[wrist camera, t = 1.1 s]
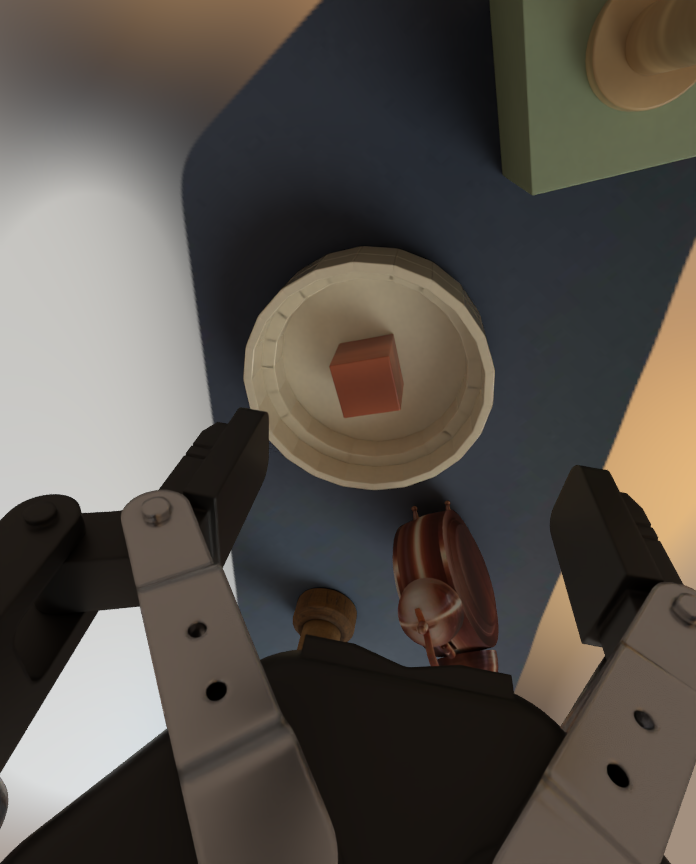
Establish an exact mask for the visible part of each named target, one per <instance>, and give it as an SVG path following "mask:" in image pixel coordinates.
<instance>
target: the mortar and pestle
mask: <svg viewBox="0 0 696 864" xmlns="http://www.w3.org/2000/svg"><path fill="white" fill-rule="evenodd" d="M356 617H357V612H356V608H355V606H354V604H353V603H352V601H351V600H350V599H349V598H347V597H346V596H345V595H343V594H341V593H339V592H337V591H335V590H331V589H325V588H314V589H310V590H307V591H305V592H304V593H303V594H302V595H301V596H300V597H299V599H298V602H297V605H296V609H295V612H294V616H293V625H294V628H295V630H296V631H297V632H298V633H299V634H300V636H301V637H300V640H299V644H298V648H297V650H302V647H303V643H304V639H305V635H306V634H308V635H313V636H318V637H323V638H328V639H333V640H338V641H343V642H348V641H349V640H350V639H351V638H352V636H353V633H354V628H355V623H356Z"/></svg>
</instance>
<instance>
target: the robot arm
mask: <svg viewBox="0 0 696 864" xmlns="http://www.w3.org/2000/svg"><path fill="white" fill-rule="evenodd" d="M268 458H269V414H268V412H265V411H260V410H254V409H248V408H242V407H240V408H239V409H238V410H237V411H236V413H235V414H234V416H233V417H232V419H231V420H230V422H229V423H228V424H226V423H220V422H217V423H215V424H213V425H212V426H210V427H208V428H207V429H205V430H203V431H202V432H201V434H200V435H199V436H198V438H197V439H196V440H195V442H194V443H193V446H191V447H190V448H189V450H188V451H187V452H186V456H183V458H182V459H181V460H180V462H179V463H178V464H177V466H176V467H175V469H174V470H173V471H172V473H171V474H170V475H169V477H168V478H167V479H166V481H165V482H164V483H163V485H162V486H161V487H160V489H159V490H156V491H151V492H147V493H144V494H141V495H139V496H137V497H136V498H134V499H132V500H131V501H130V502H129V503H128V504H127V505H126V506H125V507H124V509H123V510H121V511H112V512H95V513H81V509H80V506H79V504H78V502H77V501H76V500H75V499H73V498H71V497H69V496H65V495H58V494H53V495H52V494H50V495H43V496H39V497H35V498H32V499H29V500H27V501H24V502H22V503H21V504H19V505H17V506H16V507H14V508H13V509H12V510H10V511H9V512H8V513H7V514H6V515H5V516H4V517H3V518H2V519H1V520H0V773H1V771H2V769H3V768H4V766H5V764H6V763H7V761H8V760H9V758H10V756H11V754H12V753H13V751H14V750H15V748H16V746H17V744H18V743H19V741H20V740H21V738H22V736H23V735H24V733H25V731H26V730H27V728H28V726H29V725H30V723H31V721H32V720H33V718H34V717H35V715H36V713H37V711H38V710H39V708H40V707H41V705H42V703H43V702H44V700H45V698H46V696H47V695H48V693H49V692H50V690H51V688H52V687H53V685H54V684H55V682H56V680H57V679H58V677H59V675H60V673H61V672H62V670H63V669H64V667H65V665H66V664H67V662H68V660H69V659H70V657H71V655H72V654H73V652H74V651H75V649H76V647H77V646H78V644H79V642H80V641H81V639H82V637H83V636H84V634H85V632H86V631H87V629H88V627H89V626H90V624H91V622H92V621H93V619H94V617H95V616H96V614H97V612H98V611H99V610H108V609H119V608H128V607H139V606H140V609H141V614H142V618H143V623H144V627H145V631H146V636H147V640H148V645H149V649H150V654H151V658H152V663H153V667H154V672H155V676H156V680H157V685H158V690H159V694H160V698H161V704H162V708H163V713H164V717H165V721H166V726H167V729H166V730H164V731H163V732H162V733H161V734H159V735H158V736H157V737H155V738H154V739H153V740H152V741H151V742H149V743H148V744H147V745H145V746H144V747H143V748H141V749H140V750H139V751H137V752H136V753H135V754H134V755H132V756H131V757H130V758H129V759H127V760H126V761H125V762H123V764H121V765H120V766H118V767H117V768H116V769H114V770H113V771H112V772H111V773H110V774H108V775H107V776H106V777H104V778H103V779H102V780H100V781H99V782H98V783H96V784H95V785H94V786H93V787H91V788H90V789H89V790H88V791H86V792H85V793H84V794H82V795H81V796H80V797H79V798H77V799H76V800H75V801H74V802H72V803H71V804H70V805H69V806H67V807H66V808H64V809H63V810H62V811H61V812H59V813H58V814H57V815H55V816H54V817H53V818H52V819H50V820H49V821H48V822H46V823H45V824H44V825H43V826H41V827H40V828H39V829H37V830H36V831H35V832H34V833H33V834H31V835H30V836H29V837H27V838H26V839H25V840H23V841H22V842H21V843H20V844H19V845H18V846H17V847H16V848H15V849H14V850H13V851H12V852H11V853H10V854H9V855H8V856H7V857H6V858H5V859H4V860H3V861H2V862H1V863H0V864H671V863H670V862H669V861H668V860H667V858H666V857H665V856H664V852H665V849H666V846H667V843H668V840H669V837H670V835H671V832H672V829H673V826H674V823H675V820H676V818H677V815H678V811H679V809H680V806H681V803H682V800H683V797H684V794H685V792H686V789H687V786H688V783H689V780H690V778H691V775H692V772H693V769H694V766H695V763H696V590H694V589H692V588H690V587H687V586H685V585H683V583H682V581H681V579H680V577H679V576H678V574H677V572H676V570H675V568H674V566H673V564H672V562H671V561H670V559H669V557H668V555H667V553H666V551H665V549H664V548H663V546H662V544H661V542H660V541H658V537H657V535H656V533H655V531H654V529H653V528H651V523H650V522H649V520H648V518H647V516H646V514H645V512H644V511H643V509H642V508H641V507H640V506H639V505H638V504H637V503H636V502H635V501H634V500H633V499H632V498H631V497H630V496H629V495H628V494H627V493H622V492H619V490H618V488H617V486H616V483H615V482H614V479H613V477H612V475H611V474H610V472H609V471H608V470H603V469H597V468H592V467H586V466H580V465H576V466H574V467H573V468H572V469H571V471H570V473H569V475H568V477H567V479H566V481H565V484H564V486H563V488H562V490H561V492H560V495H559V497H558V499H557V501H556V503H555V505H554V508H553V510H552V513H551V518H550V532H551V536H552V540H553V543H554V547H555V550H556V554H557V558H558V561H559V565H560V568H561V572H562V575H563V579H564V582H565V585H566V589H567V592H568V596H569V600H570V603H571V606H572V610H573V613H574V617H575V621H576V624H577V628H578V631H579V635H580V639H581V642H582V644H588V645H593V646H598V647H602V648H603V651H604V654H605V657H604V658H603V660H602V661H601V663H600V664H599V665H598V667H597V669H596V670H595V672H594V674H593V675H592V677H591V678H590V680H589V682H588V683H587V685H586V686H585V688H584V690H583V692H582V693H581V695H580V696H579V698H578V699H577V701H576V703H575V704H574V706H573V707H572V709H571V711H570V712H569V714H568V716H567V717H566V719H565V720H564V722H563V723H562V725H561V726H559V725H558V724H557V723H556V722H555V721H554V720H553V719H551V718H550V717H549V716H548V715H547V714H546V713H545V712H543V711H542V710H540V709H539V708H538V707H536V706H535V705H533V704H532V703H530V702H529V701H527V700H525V699H524V698H522V697H520V696H518V695H516V694H514V691H513V684H512V676H511V675H508V674H503V673H498V672H493V671H488V670H483V669H478V668H473V667H468V666H463V665H446V666H427V667H405V666H402V665H400V664H397V663H395V662H393V661H391V660H389V659H387V658H385V657H382V656H380V655H378V654H376V653H374V652H372V651H369V650H367V649H365V648H363V647H361V646H359V645H356V644H353V643H348V642H343V641H338V640H333V639H328V638H323V637H318V636H313V635H308V634H306V635H305V639H304V643H303V647H302V650H292V651H286V652H281V653H277V654H274V655H271V656H268V657H265V658H263V659H261V660H260V659H259V656H258V654H257V651H256V649H255V647H254V644H253V642H252V639H251V637H250V634H249V632H248V629H247V627H246V624H245V622H244V619H243V617H242V615H241V612H240V610H239V607H238V605H237V602H236V600H235V597H234V595H233V592H232V590H231V587H230V585H229V582H228V580H227V578H226V575H225V573H224V570H223V566H224V564H225V562H226V560H227V558H228V556H229V553H230V551H231V549H232V547H233V545H234V543H235V541H236V539H237V536H238V534H239V532H240V530H241V528H242V526H243V524H244V522H245V519H246V517H247V515H248V513H249V511H250V509H251V507H252V505H253V502H254V500H255V498H256V496H257V494H258V492H259V490H260V488H261V485H262V483H263V481H264V479H265V476H266V472H267V467H268ZM7 808H8V792H7V789H6V786H5V784H4V783H3V781H2V779H1V778H0V828H1V826H2V824H3V821H4V819H5V816H6V812H7Z"/></svg>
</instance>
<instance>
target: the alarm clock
mask: <svg viewBox="0 0 696 864" xmlns="http://www.w3.org/2000/svg"><path fill="white" fill-rule="evenodd" d="M445 505H446V510H445V511H441V512H436V513H431V514H427V515H424V516H421V517H419V516H418V513H417V507H416V506H413V507H412V511H413V521H410V522H408V523H406V524H404V525H402V526H400V527H399V528H398V530H397V532H396V534H395V538H394V544H393V570H394V577H395V583H396V587H397V592H398V595H399V599H400V600H399V605H398V617H399V622H400V625H401V627H402V629H403V631H404V632H405V634H406V635H407V636H408V637H409V638H410V639H412V640H413V641H414V642H416V643H417V644H420V645H422V646H423V647H424V648H425V649H426V651H427V656H428V659H429V663H430V665H431V666H446V665H463V666H468V667H473V668H478V669H483V670H488V671H493V672H498V658H497V653H496V651H495V650H484V649H487V648H491V647H494V646H495V645H496V643H497V640H498V617H497V610H496V602H495V597H494V592H493V587H492V584H491V580H490V576H489V573H488V570H487V567H486V565H485V562H484V559H483V557H482V555H481V552H480V550H479V548H478V546H477V544H476V542H475V540H474V538H473V537H472V535H471V533H470V531H469V529H468V528H467V526H466V524H465V523H464V521H463V520H462V519H461V517H460V516H459V515H458V514H457V513H456V512H454V511H453V510H451V509H450V506H449V505H450V502H449V501H445ZM481 650H483V651H481ZM435 656H436V657H443V658H440V659H438V660H437V659H436V657H435Z"/></svg>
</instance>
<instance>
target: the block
mask: <svg viewBox="0 0 696 864" xmlns="http://www.w3.org/2000/svg"><path fill="white" fill-rule="evenodd" d="M329 368H330V371H331V375H332V378H333V382H334V385H335V389H336V392H337V396H338V399H339V403H340V406H341V410H342V413H343V417H344V418H350V417H357V416H364V415H371V414H378V413H385V412H392V411H399V410H401V404H402V395H403V386H404V382H403V377H402V372H401V367H400V363H399V358H398V353H397V348H396V343H395V338H394V335H393V334H389V335H383V336H378V337H372V338H367V339H361V340H356V341H350V342H345V343H340V344H339V345H338V347H337V350H336V352H335V354H334V356H333V359H332V361H331V363H330V366H329Z"/></svg>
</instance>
